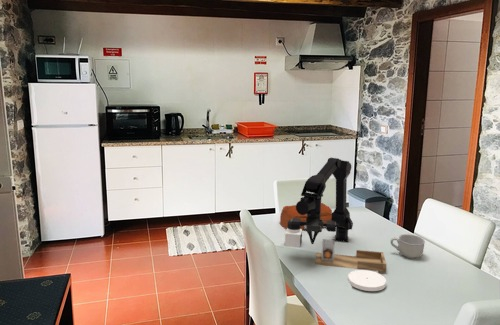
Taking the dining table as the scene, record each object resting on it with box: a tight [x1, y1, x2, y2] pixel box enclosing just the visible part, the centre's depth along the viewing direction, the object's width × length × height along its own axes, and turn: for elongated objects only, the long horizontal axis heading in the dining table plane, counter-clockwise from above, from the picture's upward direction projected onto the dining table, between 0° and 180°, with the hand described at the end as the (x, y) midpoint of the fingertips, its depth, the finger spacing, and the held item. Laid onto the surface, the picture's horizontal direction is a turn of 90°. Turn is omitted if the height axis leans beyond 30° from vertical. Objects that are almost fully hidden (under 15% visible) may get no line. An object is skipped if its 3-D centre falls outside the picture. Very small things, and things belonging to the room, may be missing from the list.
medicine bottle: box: [284, 220, 303, 248], centre depth 191 cm, size 7×7×12 cm
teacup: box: [390, 233, 426, 259], centre depth 183 cm, size 14×11×8 cm
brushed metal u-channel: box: [321, 238, 336, 263], centre depth 175 cm, size 5×5×8 cm
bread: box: [279, 202, 333, 231], centre depth 219 cm, size 16×27×11 cm, turn 106°
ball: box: [324, 251, 331, 258], centre depth 176 cm, size 3×3×3 cm
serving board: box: [314, 249, 387, 275], centre depth 174 cm, size 12×28×4 cm, turn 78°
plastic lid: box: [347, 269, 387, 292], centre depth 158 cm, size 14×14×2 cm
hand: (312, 243), depth 176 cm, fingers closed
